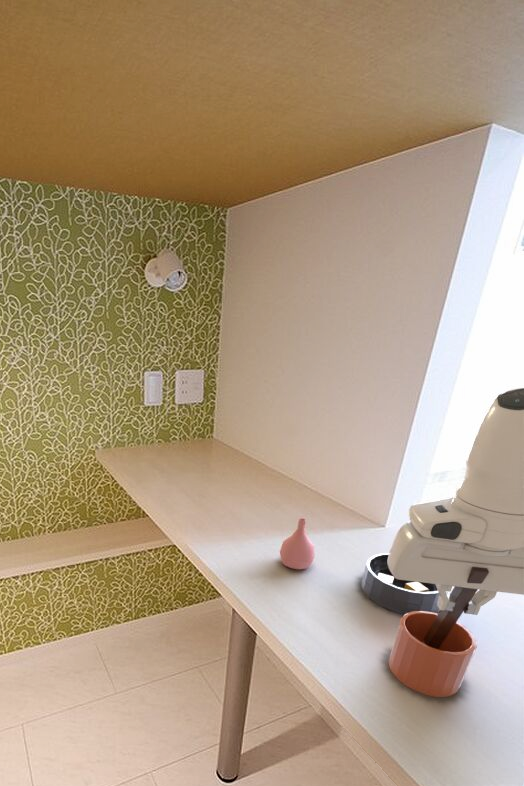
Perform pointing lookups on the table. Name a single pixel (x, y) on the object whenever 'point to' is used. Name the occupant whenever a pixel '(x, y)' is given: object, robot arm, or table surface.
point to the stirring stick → (454, 609)
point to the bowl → (396, 589)
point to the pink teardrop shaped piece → (297, 549)
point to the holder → (430, 656)
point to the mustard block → (416, 587)
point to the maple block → (386, 578)
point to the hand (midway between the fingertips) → (456, 610)
